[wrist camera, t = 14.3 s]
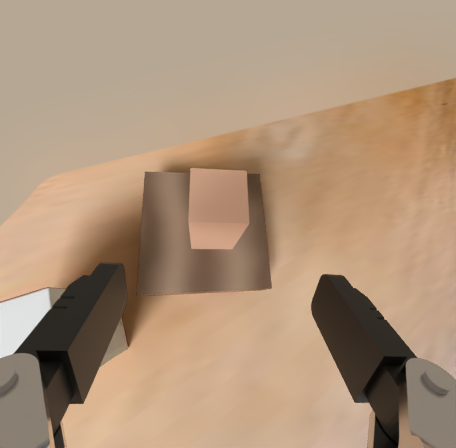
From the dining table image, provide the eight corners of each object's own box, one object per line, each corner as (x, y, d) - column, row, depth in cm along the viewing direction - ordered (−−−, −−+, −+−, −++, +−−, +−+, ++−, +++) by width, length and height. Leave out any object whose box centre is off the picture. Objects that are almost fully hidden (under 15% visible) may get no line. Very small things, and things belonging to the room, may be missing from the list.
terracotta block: (231, 211, 27) (246, 170, 19) (232, 249, 26) (249, 223, 17) (192, 210, 27) (190, 167, 18) (191, 249, 25) (188, 222, 17)
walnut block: (251, 191, 34) (259, 174, 29) (260, 290, 30) (271, 288, 25) (152, 190, 32) (144, 171, 27) (146, 296, 28) (136, 294, 23)
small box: (117, 292, 27) (51, 284, 15) (129, 349, 25) (65, 393, 13) (40, 317, 25) (-108, 333, 13) (48, 380, 24) (-114, 465, 11)
